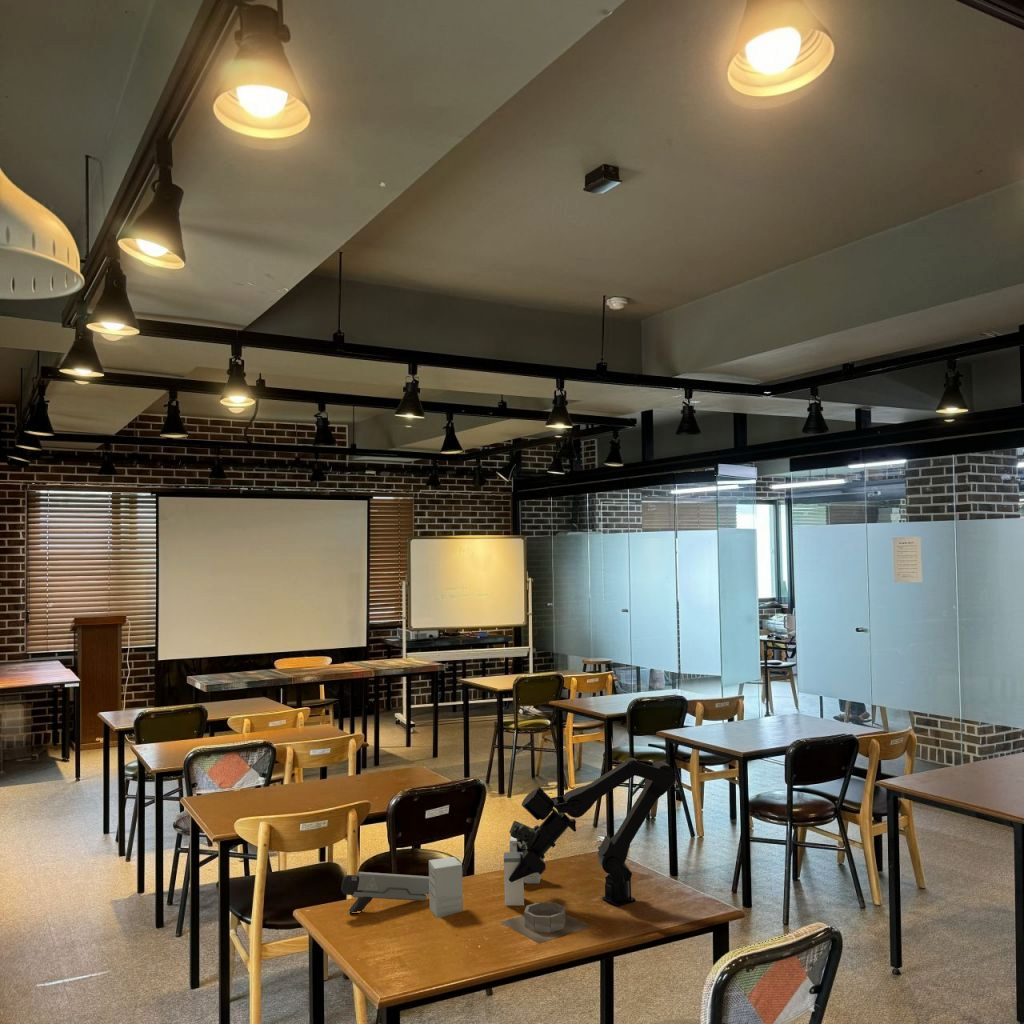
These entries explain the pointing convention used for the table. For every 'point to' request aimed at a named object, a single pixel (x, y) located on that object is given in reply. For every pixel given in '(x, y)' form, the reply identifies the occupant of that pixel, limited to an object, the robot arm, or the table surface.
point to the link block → (516, 888)
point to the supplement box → (445, 886)
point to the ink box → (532, 877)
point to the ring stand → (544, 922)
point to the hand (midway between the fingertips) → (508, 877)
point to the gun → (384, 887)
